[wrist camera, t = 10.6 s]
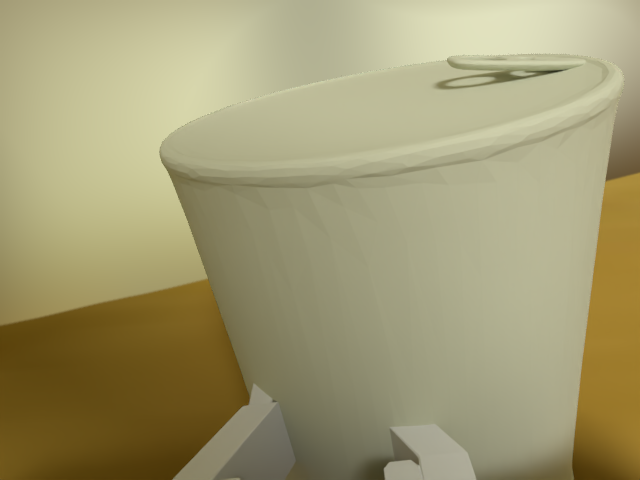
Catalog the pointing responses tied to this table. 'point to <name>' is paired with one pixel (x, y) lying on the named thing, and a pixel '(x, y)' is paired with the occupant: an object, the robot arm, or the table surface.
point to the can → (409, 254)
